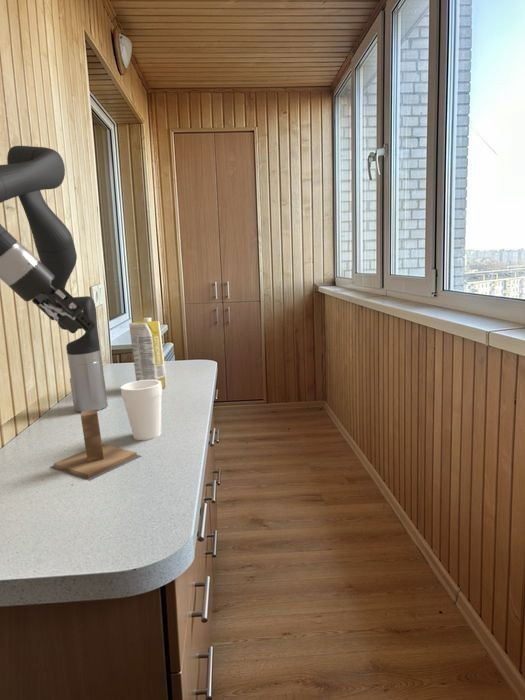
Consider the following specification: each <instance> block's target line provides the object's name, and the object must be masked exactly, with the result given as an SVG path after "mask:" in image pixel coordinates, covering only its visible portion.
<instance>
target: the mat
mask: <svg viewBox="0 0 525 700" xmlns="http://www.w3.org/2000/svg"><path fill="white" fill-rule="evenodd" d="M139 458H142V455H139V454H137V456H136V457H134V458H132V459H130V460H127V461H125V462H123V463H121V464H119V465H117V466H115V467H112V468H110V469H108V470H106V471H104V472H102V473H100V474H97V475H95V476H93V477H91V478H86V477H83V476H80V475H77V474H74V473H71V472H68V471H64V470H61V469H58V468H55V467H54V464H53V465H51V466H49V468H50V469H53V470H56V471H59V472H63V473H66V474H68V475H70V476H71V475H72V476H74V477H77V478H80V479H83V480H86V481H89V482H90V481H92V480H94V479H97V478H99V477H101V476H103V475H105V474H108V473H109V472H111V471H114V470H115V469H118V468H121V467H122V466H124V465H126V464H128V463H130V462H133V461H135V460H137V459H139Z"/></svg>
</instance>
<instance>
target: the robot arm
mask: <svg viewBox="0 0 525 700" xmlns="http://www.w3.org/2000/svg"><path fill="white" fill-rule="evenodd" d="M6 157H7V159H6V160H7V162H6V164H0V204H2V203H3V202H7V201H9V200H11V199H13V198H16V197H18V199H19V202H20V203H21V206H22V209H23V210H24V213H25V216H26V219H27V222H28V226H29V227H30V228H29V229H30V231H31V234H32V238H33V242H34V244H35V249H36V252H37V255H38V258H37V256H35V255H34V254H33V253H32V252H31V251H30V250H29V249H28V248H27V247H25V246H24V245H23V244H22V243H20V242H19V241H18V240H17V239H16V238H15V237H14V236H13V235H12V234H11V233H10V232H9V231H8V230H7V229H6V228H5V227H4V226H3V225H2V224H1V223H0V280H1V281H2V282H3V283H5V284H6V285H7V286H8V288H10V290H12V291H13V292H15V293H16V295H18V296H19V298H21V299H22V300H23V301H24V302H30V301H31V302H32V303H33V304H35V306H36V307H37V308H39V309H40V311H42V312H43V313H44V315H46V316H47V317H48V318H49V320H51V321H55V322H57V325H58V327H59V328H60V329H62V331H63V330H64V331H68V332H69V333H71V334H76V332H77V331H79V330H83V331H84V333H83V335H81V337H79V338H76V339H75V340H72V341H70V342H68V343H67V344H66V347H65V348H66V353H67V354H66V355H67V360H68V368H69V373H70V378H69V383H70V389H71V396H72V403H73V408H74V409H75V411H76V412H78V413H81V412H84V411H91V410H97V411H99V410H102V409H105V408H106V407H108V406H109V404H108V403H109V402H108V395H107V388H106V382H105V381H106V380H105V375H104V374H105V373H104V367H103V360H102V354H101V346H100V339H99V331H98V329H99V328H98V319H97V308H96V303H95V301H94V298H93V297H91V296H86V295H85V296H75V297H74V296H73V295H71V294H70V293H69V292H68V291H67V290H66V287H67V283H68V282H69V279H70V276H71V275H72V273H73V272H74V268H75V267H76V264H77V259H78V258H77V257H78V255H77V251H76V246H75V243H74V239H73V235H72V233H71V232H70V230H69V228H68V227H67V225H66V224H65V223H64V222H63V221H62V220H61V219H60V218H59V216H57V214H56V213H54V211H53V210H52V209H51V208H50V207H49V205H48V203H46V201H45V199H44V197H43V194H42V192H41V191H45V190H54V189H57V188H59V187H60V186H61V185H62V183H63V182H64V179H65V175H66V169H65V162H64V160H63V158H62V156H61V154H60V153H59V152H58V151H56V150H55V149H54V148H53V149H52V148H49V147H44V146H31V145H14V146H12V147H10V148H9V149H8V153H7V156H6Z"/></svg>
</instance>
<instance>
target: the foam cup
mask: <svg viewBox="0 0 525 700" xmlns="http://www.w3.org/2000/svg"><path fill="white" fill-rule="evenodd" d="M120 392H121V393H120V394H121V399H123V403H124V407H125V410H126V414H127V418H128V421H129V425H130V428H131V429H130V430H131V433H132V435H133V438H134V439H135V440H136V441H149V440H154V439H156V438H159V436H160V435H162V395H163V389H162V385H161V381H159V380H140V381H136V380H134V381H130V382H127V383H124V384H123V385H121V386H120Z"/></svg>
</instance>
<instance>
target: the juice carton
mask: <svg viewBox="0 0 525 700" xmlns="http://www.w3.org/2000/svg"><path fill="white" fill-rule="evenodd" d="M128 326H129V332H130V333H129V334H130V340H131V349H132V355H133V365H134V373H135V379H136V380H135V381H140V380H159V381H161V385H162V390H163V389H165V388H167V386H168V385H167V376H166V374H167V373H166V365H165V356H164V349H163V341H162V340H163V339H162V332H161V325H160V321H159V320H152V317H143V320H139V321H134V322H129V325H128Z"/></svg>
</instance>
